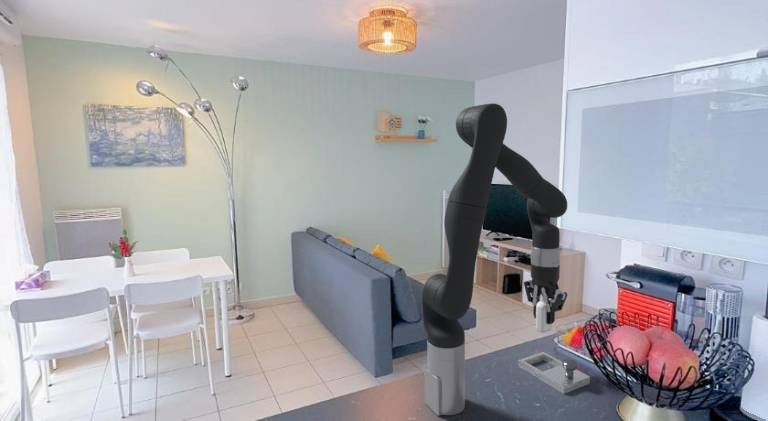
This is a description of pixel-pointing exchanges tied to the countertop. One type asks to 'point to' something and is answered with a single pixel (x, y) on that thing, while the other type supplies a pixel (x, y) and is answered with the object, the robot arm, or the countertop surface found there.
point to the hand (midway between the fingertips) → (543, 320)
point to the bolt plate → (556, 372)
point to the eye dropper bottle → (542, 316)
